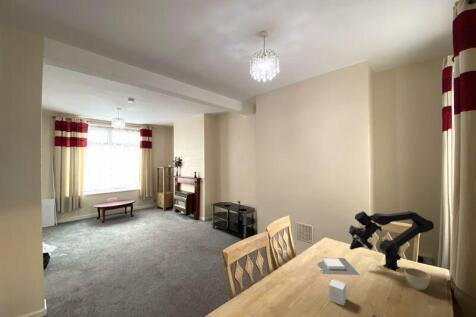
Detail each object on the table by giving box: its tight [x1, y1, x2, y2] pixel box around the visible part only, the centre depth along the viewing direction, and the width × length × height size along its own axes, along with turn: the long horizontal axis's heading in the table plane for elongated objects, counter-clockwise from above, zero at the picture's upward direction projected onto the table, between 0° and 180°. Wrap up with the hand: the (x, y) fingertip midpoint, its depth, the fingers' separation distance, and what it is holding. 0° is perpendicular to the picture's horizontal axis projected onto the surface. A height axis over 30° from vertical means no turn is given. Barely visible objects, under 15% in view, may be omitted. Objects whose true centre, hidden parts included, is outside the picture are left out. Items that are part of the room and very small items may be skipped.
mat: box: [316, 257, 360, 276], centre depth 124 cm, size 20×20×1 cm
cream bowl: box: [403, 267, 431, 291], centre depth 102 cm, size 10×10×7 cm
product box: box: [328, 278, 347, 307], centre depth 94 cm, size 6×6×7 cm
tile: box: [322, 257, 345, 270], centre depth 124 cm, size 2×10×9 cm
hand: (350, 249), depth 123 cm, fingers closed
